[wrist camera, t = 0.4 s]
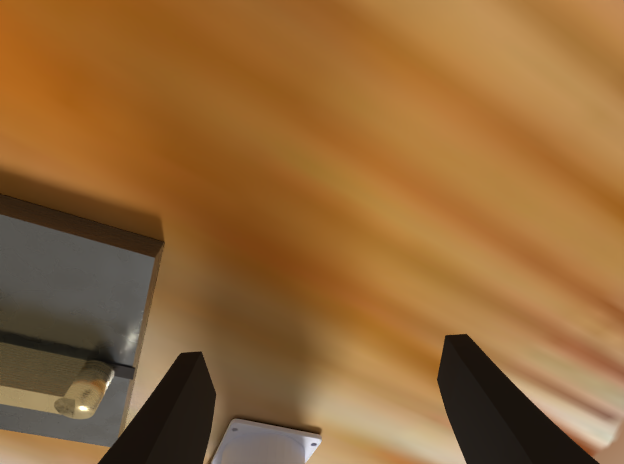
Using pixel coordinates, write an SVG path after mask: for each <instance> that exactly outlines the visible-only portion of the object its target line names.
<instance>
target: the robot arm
mask: <svg viewBox="0 0 624 464" xmlns="http://www.w3.org/2000/svg"><path fill="white" fill-rule="evenodd" d="M437 381H438V385H439V388H440V392H441V396H442V399H443V403H444V406H445V409H446V413H447V416H448V419H449V421H450V424H451V426H452V429H453V431H454V434H455V436H456V439H457V441H458V444H459V446H460V448H461V451H462V453H463V456H464V458H465V461H466V463H467V464H599V463H598V462H597V461H596V460H595V459H593V458H592V457H591V456H590V455H589V454H588V453H586V452H585V451H584V450H583V449H582V448H581V447H580V446H579V445H577V444H576V443H575V442H574V441H573V440H572V439H571V438H570V437H568V436H567V435H566V434H565V433H564V432H563V431H562V430H561V429H560V428H559V427H558V426H557V425H555V424H554V423H553V422H552V421H551V420H550V419H549V418H548V417H547V416H546V415H545V414H544V413H543V412H542V411H541V410H540V409H539V408H537V407H536V406H535V405H534V404H533V403H532V402H531V401H530V400H529V399H528V398H527V397H526V396H525V395H524V394H523V393H522V392H521V391H520V390H519V389H518V388H517V387H516V386H515V385H514V384H513V383H512V382H511V380H510V379H509V378H508V377H507V376H506V375H505V374H504V373H503V372H502V371H501V370H500V369H499V368H498V367H497V366H496V365H495V364H494V363H493V362H492V361H491V359H490V358H489V357H488V356H487V355H486V354H485V353H484V352H483V351H482V350H481V349H480V348H479V346H478V345H477V344H476V343H475V342H474V341H473V340H472V339H471V338H470V337H469V336H468V335H467V334H460V335H446V336H445V341H444V346H443V352H442V357H441V362H440V367H439V372H438V378H437ZM215 399H216V392H215V389H214V386H213V383H212V380H211V377H210V375H209V372H208V369H207V366H206V363H205V360H204V357H203V354H202V352H187V353H181V354H180V355H179V356H178V357H177V359H176V360H175V362H174V363H173V364H172V366H171V367H170V369H169V370H168V372H167V373H166V374H165V376H164V377H163V379H162V380H161V382H160V383H159V384H158V386H157V387H156V389H155V390H154V391H153V393H152V394H151V396H150V397H149V398H148V400H147V401H146V402H145V404H144V405H143V406H142V408H141V409H140V410H139V412H138V413H137V414H136V416H135V417H134V418H133V420H132V421H131V422H130V424H129V425H128V426H127V428H126V429H125V430H124V432H123V433H122V434H121V435H120V437H119V438H118V439H117V440H116V442H115V443H114V444H113V445H112V447H111V448H110V449H109V450H108V452H107V453H106V454H105V455H104V456H103V458H102V459H101V460H100V461H99V463H98V464H203V461H204V457H205V453H206V449H207V445H208V441H209V437H210V433H211V427H212V421H213V414H214V407H215ZM321 442H322V437H321V436H320V435H319V434H314V433H309V432H304V431H299V430H294V429H289V428H284V427H278V426H273V425H268V424H263V423H258V422H253V421H248V420H243V419H233V420H232V421H231V422H230V424H229V426H228V428H227V430H226V432H225V435H224V437H223V439H222V441H221V443H220V445H219V447H218V449H217V451H216V453H215V455H214V457H213V459H212V461H211V463H210V464H305V463H306V462H307V460H308V459H309V458H310V456H311V455H312V454H313V452H314V451H315V450H316V448H317V447H318V446H319V444H320V443H321Z"/></svg>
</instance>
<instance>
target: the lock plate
mask: <svg viewBox="0 0 624 464" xmlns="http://www.w3.org/2000/svg"><path fill="white" fill-rule="evenodd" d="M163 247H164V242H162V241H159V240H155V239H152V238H148V237H145V236H142V235H138V234H135V233H131V232H128V231H124V230H121V229H118V228H114V227H111V226H107V225H104V224H101V223H97V222H94V221H90V220H87V219H83V218H80V217H77V216H73V215H70V214H66V213H63V212H60V211H56V210H53V209H49V208H46V207H43V206H39V205H36V204H32V203H29V202H25V201H22V200H19V199H15V198H12V197H8V196H5V195H2V194H0V342H3V343H8V344H12V345H17V346H22V347H26V348H31V349H36V350H41V351H45V352H50V353H55V354H60V355H64V356H69V357H74V358H78V359H83V360H98V361H101V362H104V363H106V364H108V365H109V366H110V367H111V368H112V369H113V370H114V377H113V379H112V381H111V383H110V385H109V387H108V389H107V391H106V392H105V394H104V396H103V398H102V400H101V402H100V404H99V406H98V408H97V410H96V412H95V413H94V415H93V416H92V417H90V418H87V419H73V418H69V417H66V416H64V415H61V414H55V413H50V412H44V411H38V410H33V409H27V408H21V407H16V406H10V405H4V404H0V429H3V430H9V431H15V432H21V433H28V434H34V435H40V436H46V437H52V438H58V439H64V440H70V441H77V442H83V443H89V444H95V445H101V446H107V447H112V445H113V444H114V443H115V442H116V440H117V439H118V438H119V437H120V435H121V434H122V433H123V430H124V427H125V422H126V418H127V413H128V408H129V404H130V399H131V395H132V390H133V385H134V381H135V376H136V372H137V367H138V362H139V358H140V353H141V349H142V344H143V339H144V335H145V330H146V325H147V321H148V316H149V312H150V307H151V302H152V298H153V293H154V289H155V284H156V279H157V275H158V270H159V266H160V261H161V256H162V252H163Z"/></svg>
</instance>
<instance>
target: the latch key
mask: <svg viewBox="0 0 624 464" xmlns="http://www.w3.org/2000/svg"><path fill="white" fill-rule="evenodd" d="M113 377H114V370H113V369H112V368H111V367H110V366H109V365H108V364H106V363H104V362H101V361H98V360H83V359H78V358H74V357H69V356H64V355H60V354H55V353H50V352H45V351H41V350H36V349H31V348H26V347H22V346H17V345H12V344H8V343H3V342H0V404H4V405H10V406H16V407H21V408H27V409H33V410H38V411H44V412H50V413H55V414H61V415H64V416H66V417H69V418H73V419H87V418H90V417H92V416H93V415H94V413H95V412H96V410H97V408H98V406H99V404H100V402H101V400H102V398H103V396H104V394H105V392H106V391H107V389H108V387H109V385H110V383H111V381H112V379H113Z"/></svg>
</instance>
